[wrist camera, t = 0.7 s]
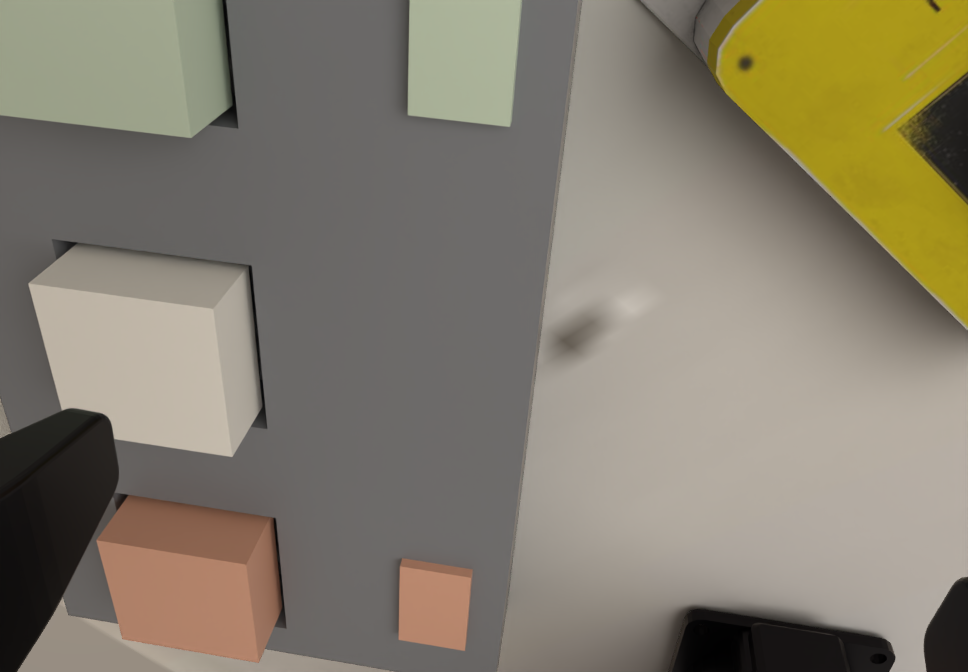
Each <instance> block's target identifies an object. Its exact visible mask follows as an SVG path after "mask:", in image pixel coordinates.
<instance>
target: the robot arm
mask: <svg viewBox="0 0 968 672" xmlns="http://www.w3.org/2000/svg"><path fill="white" fill-rule="evenodd" d="M118 480H119V465H118V459H117V453H116V447H115V441H114V435H113V429H112V424H111V421H110V420H109V418H108V417H107V416H106V415H104V414H103V413H99V412H94V411H88V410H83V409H78V408H68V409H65V410H62V411H60V412H57V413H55V414H53V415H51V416H49V417H46V418H44V419H42V420H40V421H37V422H35V423H33V424H31V425H29V426H26V427H24V428H22V429H20V430H18V431H15V432H13V433H11V434H9V435H6V436H4V437H2V438H0V672H17V671H18V669H19V668H20V666H21V665H22V663H23V662H24V660H25V658H26V657H27V655H28V654H29V652H30V651H31V649H32V647H33V646H34V644H35V643H36V641H37V640H38V638H39V636H40V635H41V633H42V632H43V630H44V629H45V627H46V625H47V624H48V622H49V620H50V619H51V617H52V615H53V614H54V612H55V610H56V608H57V606H58V604H59V603H60V601H61V599H62V597H63V595H64V593H65V591H66V589H67V587H68V585H69V583H70V581H71V579H72V577H73V575H74V573H75V571H76V569H77V567H78V565H79V563H80V561H81V559H82V557H83V555H84V553H85V551H86V549H87V547H88V545H89V543H90V541H91V539H92V537H93V535H94V533H95V531H96V529H97V527H98V525H99V523H100V521H101V519H102V517H103V515H104V513H105V511H106V509H107V507H108V505H109V503H110V501H111V499H112V497H113V495H114V493H115V491H116V488H117V485H118ZM924 656H925V663H926V671H927V672H968V577H963V578H960V579H959V580H957V581H956V582H955V583H954V584H953V586H952V587H951V589H950V590H949V592H948V594H947V595H946V597H945V599H944V600H943V602H942V604H941V605H940V607H939V609H938V610H937V612H936V614H935V615H934V617H933V619H932V620H931V622H930V624H929V625H928V628H927V630H926V633H925V638H924ZM894 662H895V654H894V651H893V648H892V645H891V643H890V642H889V641H887V640H885V639H882V638H877V637H871V636H865V635H859V634H852V633H846V632H840V631H834V630H828V629H821V628H815V627H809V626H803V625H797V624H790V623H784V622H778V621H772V620H765V619H759V618H753V617H747V616H741V615H734V614H728V613H722V612H716V611H709V610H701V609H697V610H693V611H690V612H689V613H687V615H686V616H685V618H684V622H683V625H682V628H681V632H680V635H679V638H678V642H677V645H676V648H675V651H674V655H673V658H672V661H671V665H670V668H669V671H668V672H889V671H890V669H891V667H892V665H893V664H894Z"/></svg>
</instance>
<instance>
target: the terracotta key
mask: <svg viewBox="0 0 968 672" xmlns="http://www.w3.org/2000/svg"><path fill="white" fill-rule="evenodd" d="M96 541H97V545H98V548H99V552H100V556H101V560H102V563H103V567H104V571H105V575H106V578H107V582H108V586H109V590H110V594H111V597H112V601H113V605H114V609H115V612H116V616H117V620H118V624H119V627H120V631H121V635H122V639H125V640H130V641H136V642H142V643H148V644H153V645H159V646H165V647H171V648H176V649H182V650H188V651H194V652H200V653H205V654H211V655H217V656H223V657H228V658H234V659H240V660H246V661H251V662H257V663H259V661H260V659H261V657H262V654H263V652H264V650H265V647H266V645H267V643H268V640H269V638H270V636H271V633H272V631H273V628H274V626H275V624H276V621H277V619H278V617H279V614H280V612H281V610H282V600H281V590H280V580H279V570H278V560H277V550H276V539H275V529H274V519H273V518H272V517H266V516H260V515H253V514H247V513H241V512H234V511H228V510H222V509H216V508H209V507H203V506H197V505H190V504H184V503H178V502H171V501H165V500H159V499H152V498H146V497H140V496H133V495H128V497H127V498H126V499H125V501H124V502H123V504H122V505H121V506H120V508H119V509H118V511H117V512H116V513H115V515H114V516H113V518H112V519H111V520H110V522H109V523H108V525H107V526H106V527H105V529H104V530H103V532H102V533H101V534H100V536H99V537H98V539H97V540H96Z"/></svg>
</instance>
